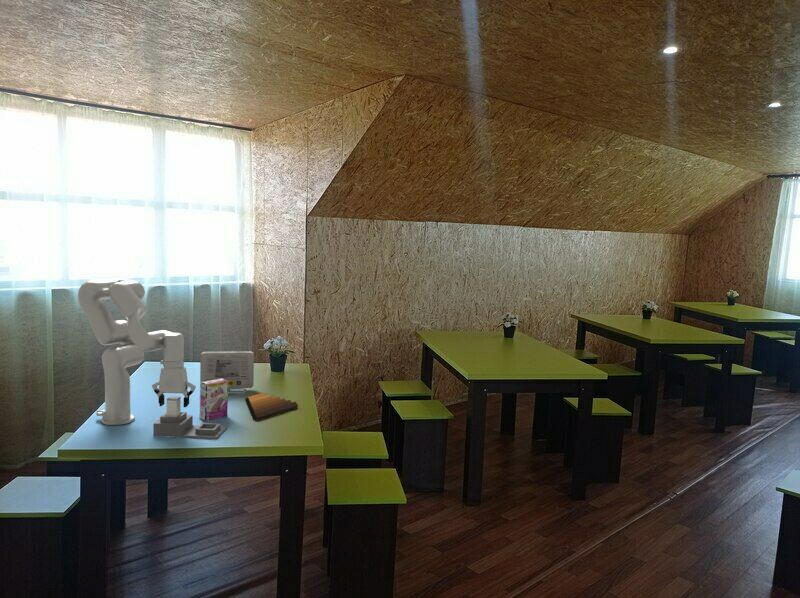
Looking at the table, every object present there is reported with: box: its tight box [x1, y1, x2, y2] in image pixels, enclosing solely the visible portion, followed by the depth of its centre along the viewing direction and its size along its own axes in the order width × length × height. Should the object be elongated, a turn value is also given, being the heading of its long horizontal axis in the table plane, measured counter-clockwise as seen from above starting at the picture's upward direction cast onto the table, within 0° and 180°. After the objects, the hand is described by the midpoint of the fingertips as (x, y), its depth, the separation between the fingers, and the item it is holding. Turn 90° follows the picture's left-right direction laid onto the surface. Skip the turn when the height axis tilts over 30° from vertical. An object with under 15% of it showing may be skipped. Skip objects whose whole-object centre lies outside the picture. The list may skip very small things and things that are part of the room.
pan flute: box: [244, 392, 299, 422], centre depth 271 cm, size 25×3×25 cm
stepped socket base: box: [152, 411, 227, 440], centre depth 236 cm, size 25×12×7 cm, turn 89°
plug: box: [166, 395, 182, 417], centre depth 235 cm, size 4×4×9 cm
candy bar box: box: [199, 378, 229, 422], centre depth 254 cm, size 11×5×16 cm, turn 141°
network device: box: [199, 350, 255, 394], centre depth 295 cm, size 26×9×20 cm, turn 105°
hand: (173, 405), depth 235 cm, fingers open, 9 cm apart
